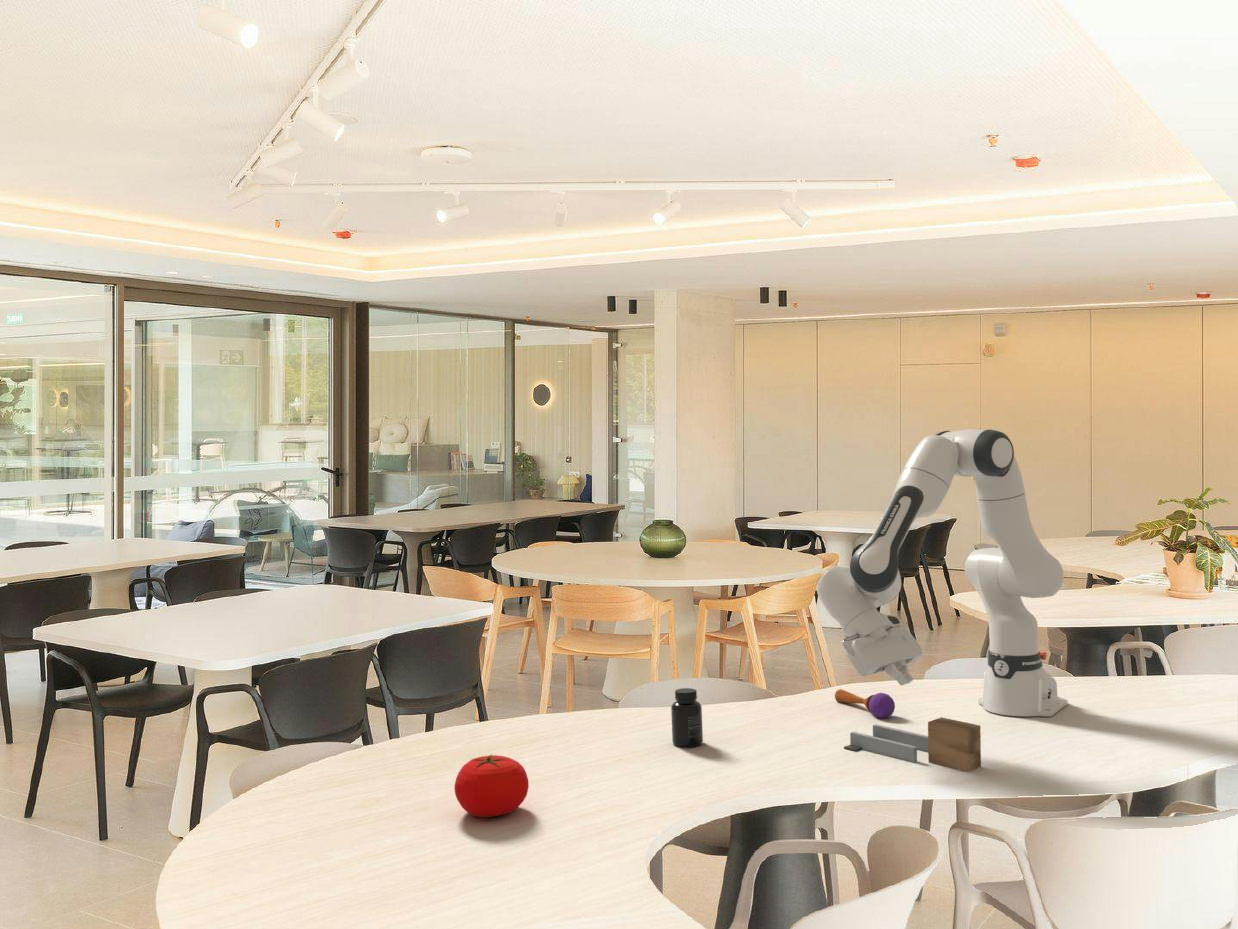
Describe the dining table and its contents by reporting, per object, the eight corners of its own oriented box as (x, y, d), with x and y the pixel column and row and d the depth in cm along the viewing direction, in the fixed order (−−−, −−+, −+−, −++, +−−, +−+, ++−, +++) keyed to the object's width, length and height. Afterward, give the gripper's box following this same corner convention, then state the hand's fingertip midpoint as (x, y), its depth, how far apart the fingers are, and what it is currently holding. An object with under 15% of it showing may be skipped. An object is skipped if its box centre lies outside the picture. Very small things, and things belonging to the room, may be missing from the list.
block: (941, 757, 227) (941, 717, 227) (980, 767, 221) (980, 725, 220) (928, 762, 224) (927, 722, 224) (967, 772, 217) (967, 730, 217)
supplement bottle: (703, 739, 244) (702, 686, 244) (702, 748, 238) (701, 694, 237) (672, 739, 245) (671, 686, 245) (671, 748, 238) (670, 694, 238)
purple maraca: (851, 684, 276) (901, 695, 258) (848, 708, 276) (898, 721, 257) (831, 683, 274) (880, 694, 256) (829, 707, 273) (878, 719, 255)
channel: (882, 735, 244) (882, 722, 244) (944, 750, 232) (944, 736, 232) (844, 748, 235) (843, 735, 235) (907, 764, 223) (907, 750, 223)
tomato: (495, 795, 210) (494, 742, 210) (543, 809, 202) (542, 753, 202) (439, 817, 199) (437, 761, 199) (488, 832, 191) (486, 774, 191)
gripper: (847, 629, 229) (887, 683, 222) (903, 616, 242) (942, 665, 235) (830, 647, 232) (869, 700, 225) (886, 633, 246) (925, 682, 239)
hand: (907, 682), depth 230 cm, fingers closed
